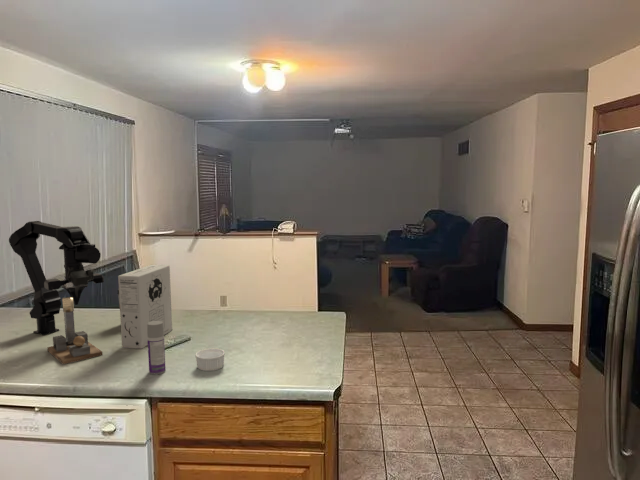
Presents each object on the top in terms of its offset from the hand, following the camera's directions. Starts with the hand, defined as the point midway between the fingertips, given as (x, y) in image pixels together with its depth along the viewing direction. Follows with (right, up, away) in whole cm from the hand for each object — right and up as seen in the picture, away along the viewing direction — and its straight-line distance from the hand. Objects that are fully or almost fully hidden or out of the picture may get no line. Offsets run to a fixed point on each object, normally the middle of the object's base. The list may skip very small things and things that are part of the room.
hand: (76, 304), depth 186 cm
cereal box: (+26, -12, -1) cm, 29 cm away
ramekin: (+54, -16, -28) cm, 63 cm away
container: (+39, -16, -32) cm, 53 cm away
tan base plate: (+7, -14, -16) cm, 22 cm away
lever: (+4, -11, -13) cm, 18 cm away
